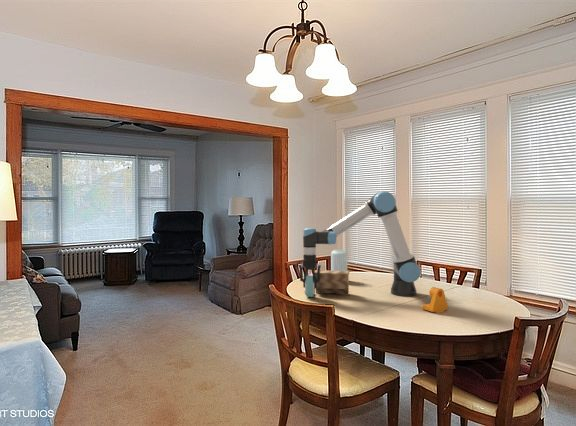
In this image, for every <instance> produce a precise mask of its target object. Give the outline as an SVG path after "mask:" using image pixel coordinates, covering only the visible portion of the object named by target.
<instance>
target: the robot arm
mask: <svg viewBox="0 0 576 426" xmlns="http://www.w3.org/2000/svg"><path fill="white" fill-rule="evenodd" d="M396 203H397V202H396V198H395V195H393V193H390V192H389V191H385V190H383V191H379V192H377V193H375V194H374V195H373V196H372V197H370V198H369V199H368V200H367V201H366V200H365V202H364V204H363V205H361V206H360V207H359V208H356V209H355V210H353V211H352V212H350V213H349V214H347V215H346V216H343V218H342V219H340V220H338V221H336V222H335V223H334V224H331V226H329V227H328V228H326V229H323V230H322V231H317V230H316V228H315V227H310V228H309V227H307V228H306V227H305V228H304V229H303V232H302V233H303V234H302V239H303V247H302V248H303V251H302V252H303V261H302V263H300V264H298V269H299V280H300V282H302V283H303V285H302V286H303V288H304V291H305V293H306V276H307V275H308V274H309V273H308V272H309V270H310V271H311V274H313V279H314V282H313V294H314V295H315V293H316V289H315V288H316V287H317V282H319V281H320V270H321V268H322V265H321V264H318V263H317V255H316V254H317V245H335V244H337V237H339V236H340V235H342V234H343V233H345V232H346V231H348V230H349V229H351V228H352V227H355V226H356V225H357V224H359V223H361V222H362V221H364V220H365V219H367V218H369V217H370V216H375V215H377V217H378V219H380V220H381V221H382V223H383V227H384V229H385V232H386V235H387V238H388V241H389V244H390V245H391V249H392V252H393V254H394V257H393V282H392V285H391V286H390V293H391V294H392V295H395V296H400V297H412V296H413V297H414V296H416V295H417V288H416V285H415V282H416V281H417V280H418V279H419V278H420V276H421V273H422V271H421V267H420V265H418V264H417V261H416V258H415V255H414V254H412V253H411V252H410V249H409V246H408V243H407V241H406V238H405V235H404V233H403V230H402V227H401V224H400V221H399V219H398V215H397V213H399V211H398V207H397V205H396ZM303 267H304V269H305V270H304V271H303ZM315 268H317V269H316V270H317V280H316V275H315ZM303 273H304V274H303Z"/></svg>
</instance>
